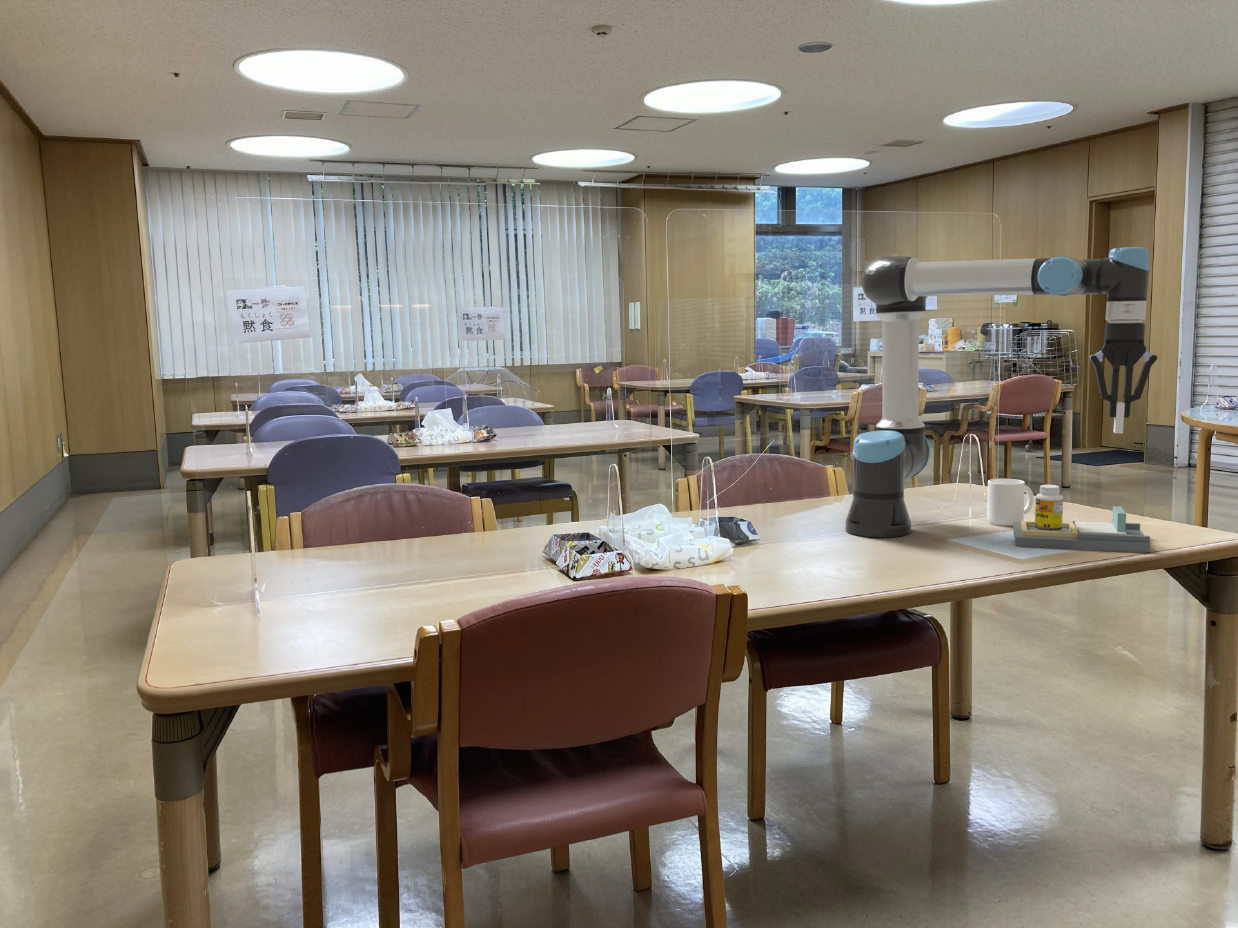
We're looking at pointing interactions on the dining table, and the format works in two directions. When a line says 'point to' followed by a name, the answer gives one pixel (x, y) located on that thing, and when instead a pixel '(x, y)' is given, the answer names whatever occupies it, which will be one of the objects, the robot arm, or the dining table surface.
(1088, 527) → the cover
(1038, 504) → the supplement bottle
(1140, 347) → the robot arm
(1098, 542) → the housing
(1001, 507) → the mug
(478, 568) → the dining table surface
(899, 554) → the dining table surface
